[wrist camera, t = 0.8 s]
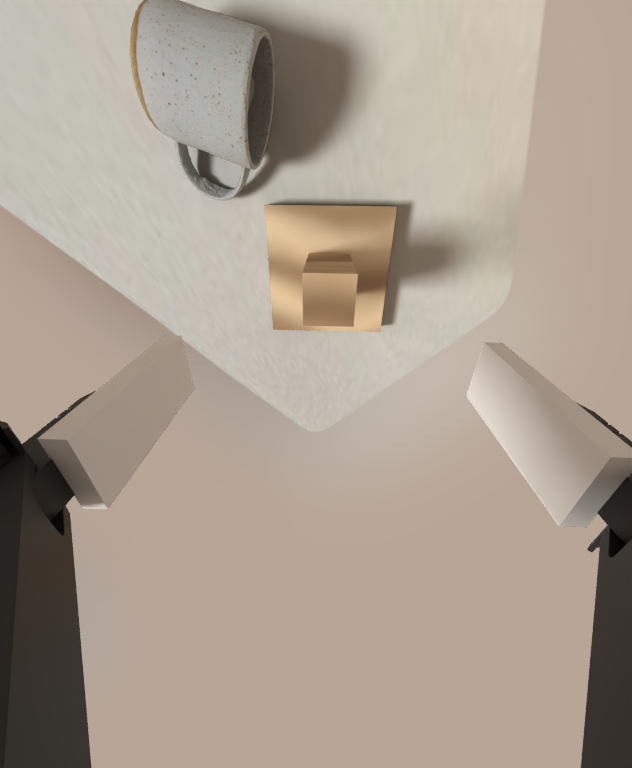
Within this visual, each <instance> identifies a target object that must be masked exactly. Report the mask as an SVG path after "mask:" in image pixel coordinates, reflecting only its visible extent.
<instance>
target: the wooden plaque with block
mask: <svg viewBox="0 0 632 768" xmlns="http://www.w3.org/2000/svg"><path fill="white" fill-rule="evenodd" d="M396 211H397V207H395V206H324V205H265V219H266V233H267V247H268V261H269V275H270V289H271V303H272V317H273V330H318V331H366V332H380V329H381V322H382V314H383V307H384V299H385V292H386V285H387V277H388V270H389V263H390V255H391V248H392V240H393V233H394V226H395V218H396Z"/></svg>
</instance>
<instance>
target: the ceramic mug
mask: <svg viewBox="0 0 632 768" xmlns="http://www.w3.org/2000/svg"><path fill="white" fill-rule="evenodd" d="M130 56H131V66H132V72H133V78H134V82H135V86H136V90H137V93H138V97H139V99H140V102H141V105H142V107H143V109H144V110H145V112H146V114H147V116H148V118H149V120H150V121H151V122H152V123H153V125H154V126H155V127H156V128H157V129H158V130H159V131H161V132H162V133H164V134H165V135H167V136H169V137H170V138H172V139H174V140H175V141H176V144H175V146H176V152H177V156H178V160H179V163H180V165H181V167H182V170H183V172H184V174H185V175H186V177H187V178H188V179H189V181H190V182H191V183H192V184H193V185H194V186H195V187H196V188H197V189H198V190H199V191H201V192H202V193H204V194H205V195H207V196H209V197H212V198H214V199H218V200H229V199H232V198H233V197H235V196H236V195H237V194H238V193H239V192H240V191H241V189H242V188H243V186H244V185H245V183H246V181H247V178H248V175H249V172H250V169H252V170H254V169H256V168H257V167H258V166H259V165H260V163H261V161H262V158H263V156H264V153H265V150H266V147H267V143H268V138H269V132H270V128H271V123H272V114H273V107H274V95H275V59H274V50H273V45H272V41H271V37H270V35H269V33H268V31H267V30H266V29H265V28H263V27H261V26H258V25H255V24H251V23H248V22H245V21H242V20H238V19H235V18H233V17H229V16H226V15H223V14H221V13H216V12H213V11H210V10H206V9H202V8H199V7H196V6H194V5H191V4H188V3H185V2H182V1H179V0H144V1H143V2H142V3H141V4H140V5H139V7H138V8H137V10H136V13H135V16H134V20H133V23H132V27H131V37H130ZM187 145H188V146H191V147H194V148H197V149H200V150H203V151H206V152H208V153H210V154H213V155H215V156H218V157H220V158H223V159H225V160H228V161H231V162H233V163H236V164H238V165H241V166H242V175H241V177H240V180H239V182H238V184H237V186H236V188H234V189H226V188H223V187H221V186H219V185H216V184H214V183H212V182H210V181H209V180H208V179H206V178H204V177H201V176H200V175H199V174H198V172H197V171H196V169H195V168H194V166H193V164H192V162H191V158H190V156H189V153H188V148H187Z"/></svg>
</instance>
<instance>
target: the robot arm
mask: <svg viewBox="0 0 632 768" xmlns="http://www.w3.org/2000/svg"><path fill="white" fill-rule="evenodd" d="M194 389H195V388H194V384H193V380H192V376H191V372H190V368H189V364H188V361H187V356H186V352H185V348H184V344H183V340H182V336H163V337H162V338H161V339H159V340H158V341H157V342H156V343H154V344H153V345H152V346H151V347H150V348H148V349H147V350H146V351H145V352H143V353H142V354H141V355H140V356H138V357H137V358H136V359H135V360H134V361H132V362H131V363H130V364H129V365H127V366H126V367H125V368H124V369H123V370H121V371H120V372H119V373H118V374H116V375H115V376H114V377H113V378H111V379H110V380H109V381H108V382H106V383H105V384H104V385H103V386H102V387H101V388H99V389H98V390H97V391H94V392H92V393H90V394H88V395H86V396H84V397H82V398H80V399H79V400H78V401H76V402H75V403H74V404H73V405H71V406H70V407H69V408H68V410H65V411H64V412H62V413H61V414H60V415H59V416H58V418H55V419H54V420H52V421H51V422H50V423H48V424H47V425H46V426H45V427H43V428H42V429H41V430H40V431H38V432H37V433H36V434H35V435H33V436H32V437H31V438H29V439H28V440H27V441H26V442H24V443H23V444H21V442H20V441H19V439H18V438H17V437H16V435H15V434H14V433H13V431H12V429H11V428H10V427H9V425H8V424H7V423H5V422H1V421H0V768H91V760H90V748H89V735H88V723H87V711H86V700H85V688H84V676H83V664H82V653H81V640H80V628H79V616H78V604H77V593H76V580H75V568H74V558H73V557H74V556H73V546H72V545H73V544H72V533H71V520H70V513H69V511H68V509H67V508H66V506H65V505H66V504H67V503H68V502H69V501H70V500H71V498H72V497H73V496H75V497H76V499H77V500H78V502H79V503H80V505H81V506H82V508H89V509H108V508H109V507H110V506H111V504H112V503H113V501H114V500H115V499H116V497H117V496H118V495H119V493H120V492H121V490H122V489H123V488H124V486H125V485H126V483H127V482H128V480H129V479H130V478H131V476H132V475H133V474H134V472H135V471H136V469H137V468H138V466H139V465H140V464H141V463H142V461H143V460H144V458H145V457H146V456H147V454H148V453H149V451H150V450H151V449H152V447H153V446H154V444H155V443H156V442H157V440H158V439H159V437H160V436H161V435H162V433H163V432H164V431H165V429H166V427H167V426H168V425H169V424H170V422H171V420H172V419H173V418H174V416H175V415H176V414H177V412H178V411H179V409H180V408H181V407H182V405H183V404H184V403H185V401H186V400H187V399H188V397H189V396H190V394H191V393H192V391H193V390H194ZM467 398H468V399H469V401H470V402H471V403H472V405H473V406H474V408H475V409H476V410H477V412H478V413H479V414H480V416H481V417H482V419H483V420H484V422H485V423H486V424H487V426H488V427H489V429H490V430H491V431H492V433H493V434H494V436H495V437H496V439H497V440H498V441H499V443H500V444H501V446H502V447H503V448H504V450H505V451H506V453H507V454H508V455H509V457H510V458H511V460H512V461H513V463H514V464H515V465H516V467H517V468H518V469H519V471H520V472H521V474H522V475H523V477H524V478H525V479H526V481H527V482H528V484H529V485H530V486H531V488H532V489H533V491H534V492H535V494H536V495H537V496H538V498H539V499H540V501H541V502H542V503H543V505H544V506H545V507H546V509H547V510H548V512H549V513H550V515H551V516H552V517H553V519H554V520H555V522H556V523H557V524H558V526H559V527H585V528H586V527H587V526H588V525H589V524H590V522H591V521H592V520H593V519H594V518H595V517H596V515H597V514H599V515H600V516H601V518H602V519H603V520H604V521H605V522H606V523H607V526H606V528H605V529H604V530H603V531H602V532H601V533H600V534H599V535H598V537H597V538H596V539H595V540H594V541H593V542H592V543H591V544H590V546H589V548H588V549H587V550H589V551H590V552H593V551H594V550H595V549H596V548H598V547H600V552H599V564H598V575H597V587H596V599H595V611H594V622H593V634H592V646H591V658H590V669H589V680H588V693H587V705H586V716H585V727H584V739H583V751H582V763H581V768H632V442H631V441H630V440H629V439H628V438H626V437H625V436H624V435H623V434H619V431H618V430H616V429H615V428H614V427H612V426H611V425H608V423H607V422H606V421H605V420H604V419H602V418H601V417H600V416H599V415H597V414H596V413H595V412H593V411H591V410H589V409H587V408H586V407H584V406H582V405H580V404H578V403H576V402H575V401H573V400H572V399H571V398H569V397H568V396H567V395H566V394H565V393H563V392H562V391H561V390H560V389H558V388H557V387H556V386H555V385H554V384H552V383H551V382H550V381H549V380H547V379H546V378H545V377H544V376H542V375H541V374H540V373H539V372H538V371H536V370H535V369H534V368H533V367H531V366H530V365H529V364H528V363H526V362H525V361H524V360H523V359H522V358H520V357H519V356H518V355H517V354H515V353H514V352H513V351H512V350H510V349H509V348H508V347H507V346H505V345H504V344H503V343H484V345H483V347H482V350H481V354H480V356H479V360H478V362H477V365H476V368H475V371H474V374H473V377H472V380H471V383H470V386H469V389H468V392H467Z"/></svg>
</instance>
